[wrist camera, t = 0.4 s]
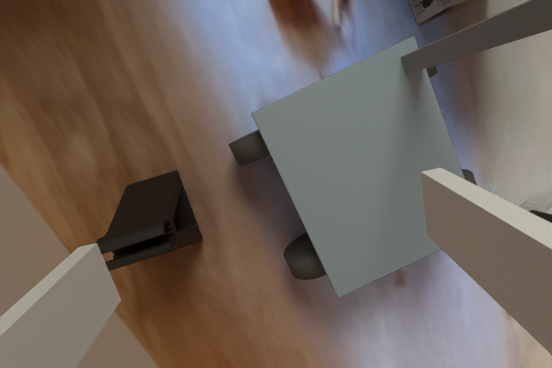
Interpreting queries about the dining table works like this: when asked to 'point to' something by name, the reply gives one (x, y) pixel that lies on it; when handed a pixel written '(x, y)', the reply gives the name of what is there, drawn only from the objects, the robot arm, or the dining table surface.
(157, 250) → the phone stand
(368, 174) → the trolley
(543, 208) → the ramekin
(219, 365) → the dining table surface
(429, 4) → the coffee box
